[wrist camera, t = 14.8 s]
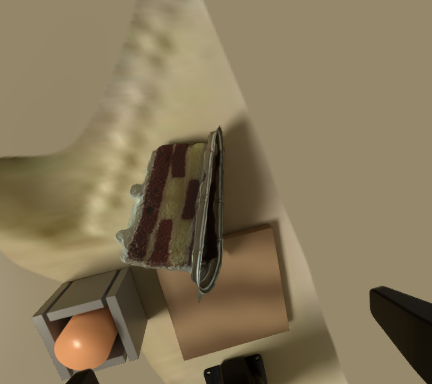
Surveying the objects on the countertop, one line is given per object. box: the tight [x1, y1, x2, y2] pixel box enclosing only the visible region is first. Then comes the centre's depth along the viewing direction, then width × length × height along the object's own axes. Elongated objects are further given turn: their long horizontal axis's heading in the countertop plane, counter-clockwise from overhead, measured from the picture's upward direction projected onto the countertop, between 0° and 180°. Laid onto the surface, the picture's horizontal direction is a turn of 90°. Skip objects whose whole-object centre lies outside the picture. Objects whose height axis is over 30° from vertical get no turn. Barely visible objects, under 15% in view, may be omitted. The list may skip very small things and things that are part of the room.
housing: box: [32, 267, 148, 380], centre depth 19 cm, size 6×6×4 cm
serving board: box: [156, 224, 289, 361], centre depth 21 cm, size 12×11×1 cm
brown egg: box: [54, 302, 118, 371], centre depth 18 cm, size 4×4×4 cm
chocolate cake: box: [115, 125, 225, 303], centre depth 17 cm, size 10×7×12 cm
